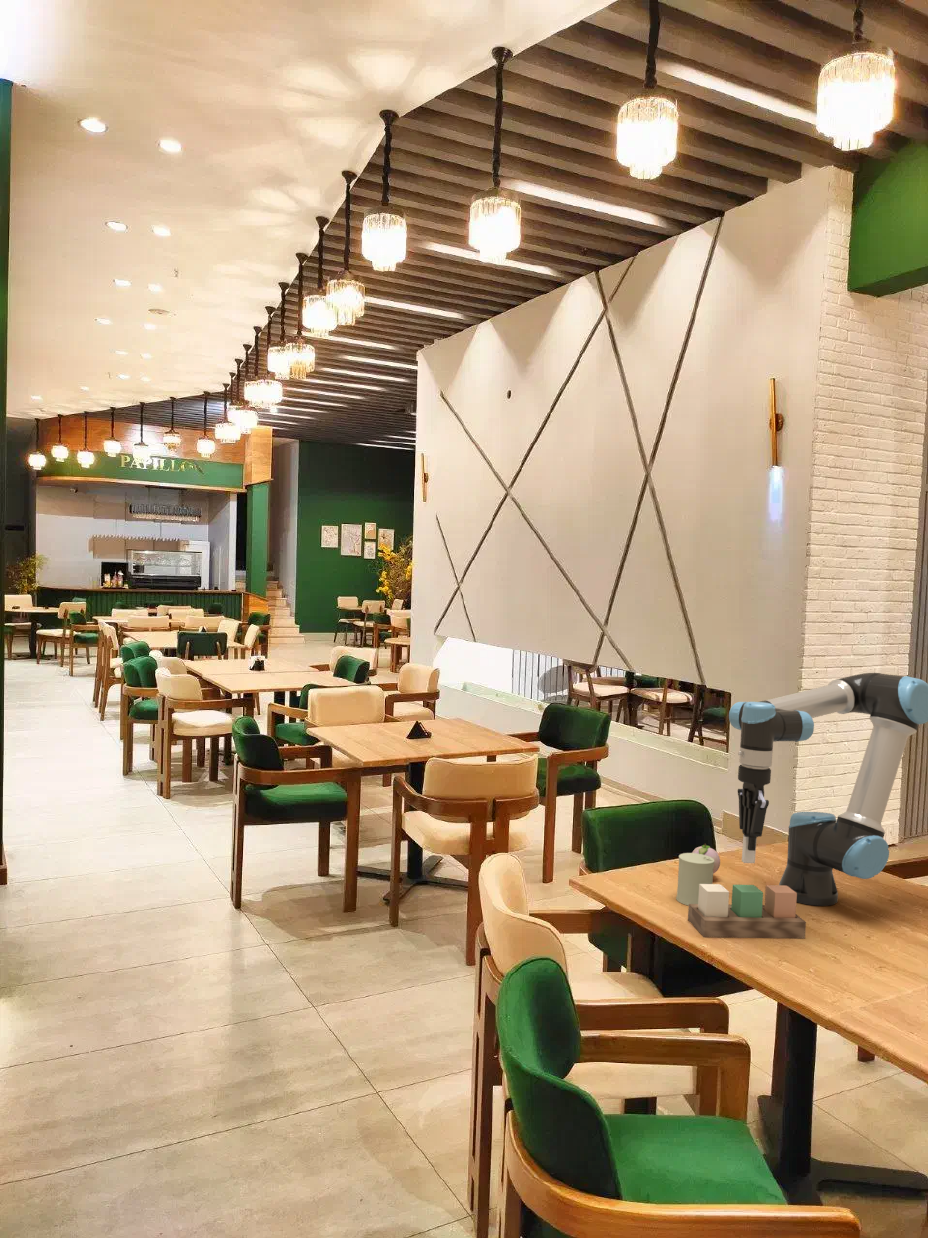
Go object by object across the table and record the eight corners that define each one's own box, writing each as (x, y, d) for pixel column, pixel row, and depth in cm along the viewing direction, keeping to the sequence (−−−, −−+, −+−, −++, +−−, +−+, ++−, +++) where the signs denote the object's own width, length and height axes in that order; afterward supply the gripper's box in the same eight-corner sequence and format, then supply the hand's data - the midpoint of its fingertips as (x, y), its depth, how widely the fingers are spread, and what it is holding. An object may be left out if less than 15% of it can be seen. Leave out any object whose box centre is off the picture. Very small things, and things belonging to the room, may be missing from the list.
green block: (752, 913, 218) (753, 885, 218) (761, 921, 213) (763, 892, 213) (730, 912, 218) (732, 884, 218) (739, 920, 213) (741, 892, 212)
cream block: (718, 912, 218) (720, 884, 217) (727, 920, 212) (729, 891, 212) (697, 912, 217) (699, 884, 217) (705, 920, 212) (707, 891, 212)
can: (713, 909, 229) (716, 863, 228) (676, 905, 230) (679, 859, 230) (710, 897, 238) (713, 853, 237) (675, 893, 239) (678, 849, 239)
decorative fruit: (719, 885, 248) (721, 850, 248) (689, 881, 250) (691, 846, 250) (719, 875, 257) (721, 841, 257) (690, 871, 259) (692, 837, 259)
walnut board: (784, 921, 222) (785, 905, 222) (805, 938, 211) (806, 922, 211) (687, 919, 220) (688, 904, 220) (703, 937, 209) (704, 920, 209)
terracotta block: (784, 913, 219) (786, 885, 219) (795, 921, 214) (796, 893, 214) (764, 913, 219) (765, 885, 219) (773, 921, 213) (775, 892, 213)
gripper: (729, 760, 220) (723, 853, 221) (751, 770, 208) (744, 870, 208) (758, 761, 221) (751, 854, 222) (781, 772, 208) (774, 871, 209)
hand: (748, 862), depth 215 cm, fingers closed
